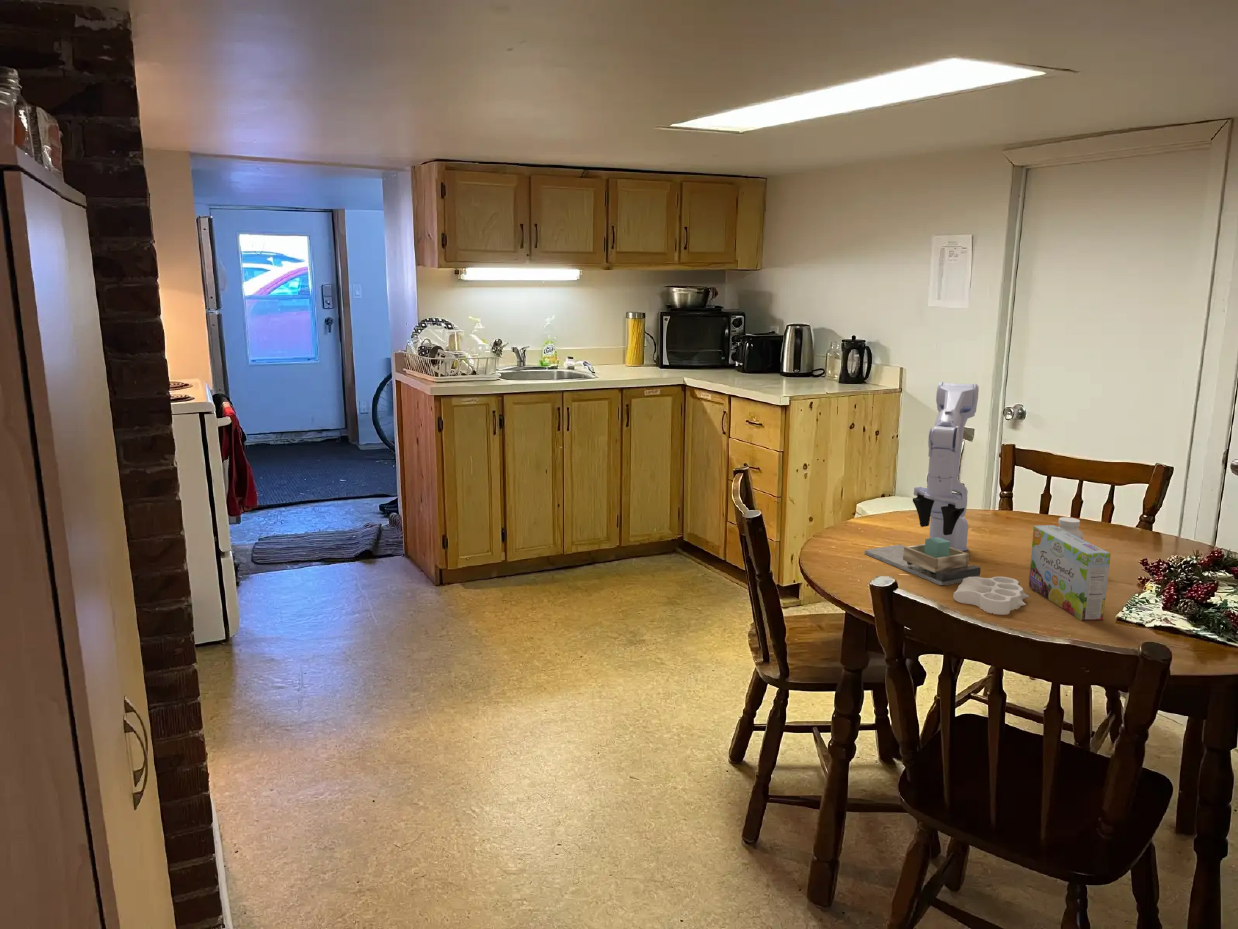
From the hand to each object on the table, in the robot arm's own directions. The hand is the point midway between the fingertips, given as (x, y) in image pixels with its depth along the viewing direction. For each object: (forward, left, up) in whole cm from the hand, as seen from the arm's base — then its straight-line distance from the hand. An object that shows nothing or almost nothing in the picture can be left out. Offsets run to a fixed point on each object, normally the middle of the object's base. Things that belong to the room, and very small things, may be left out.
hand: (935, 530), depth 213 cm
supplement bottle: (-31, +12, -11) cm, 35 cm away
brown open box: (0, +1, -9) cm, 9 cm away
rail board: (0, -4, -10) cm, 11 cm away
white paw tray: (+2, +21, -11) cm, 23 cm away
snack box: (-11, +28, -11) cm, 32 cm away
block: (0, +1, -7) cm, 7 cm away
